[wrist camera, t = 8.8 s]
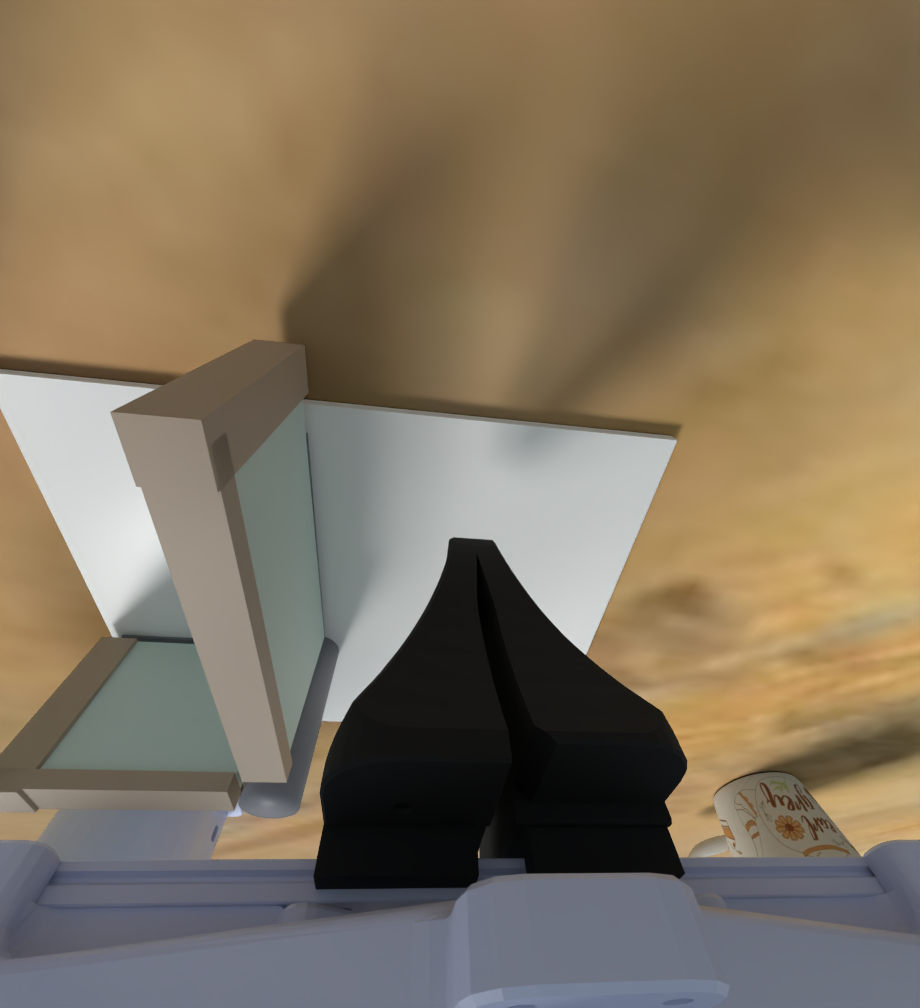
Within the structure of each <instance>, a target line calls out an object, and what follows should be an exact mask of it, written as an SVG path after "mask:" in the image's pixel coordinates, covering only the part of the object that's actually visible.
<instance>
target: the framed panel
mask: <svg viewBox="0 0 920 1008" xmlns="http://www.w3.org/2000/svg"><path fill="white" fill-rule="evenodd" d="M308 393H309V390H308V378H307V366H306V354H305V345H301V344H291V343H282V342H273V341H263V340H252V341H250V342H248V343H246V344H244V345H242V346H240V347H238V348H236V349H234V350H232V351H230V352H228V353H226V354H224V355H222V356H220V357H218V358H216V359H214V360H212V361H210V362H208V363H206V364H204V365H202V366H200V367H198V368H196V369H194V370H192V371H190V372H188V373H186V374H184V375H182V376H181V377H179V378H177V379H175V380H173V381H171V382H169V383H167V384H165V385H163V386H161V387H159V388H157V389H155V390H153V391H151V392H149V393H147V394H145V395H143V396H141V397H139V398H137V399H135V400H133V401H131V402H129V403H127V404H125V405H123V406H121V407H119V408H117V409H115V410H113V411H111V412H110V413H111V416H112V419H113V422H114V425H115V428H116V430H117V433H118V436H119V439H120V442H121V445H122V448H123V450H124V453H125V456H126V459H127V462H128V465H129V468H130V470H131V473H132V476H133V479H134V482H135V485H136V487H141V489H142V492H143V495H144V498H145V501H146V504H147V507H148V510H149V512H150V515H151V518H152V521H153V524H154V527H155V530H156V533H157V536H158V539H159V542H160V544H161V547H162V550H163V553H164V556H165V559H166V562H167V565H168V568H169V571H170V573H171V576H172V579H173V582H174V585H175V588H176V591H177V594H178V597H179V600H180V603H181V605H182V608H183V611H184V614H185V617H186V620H187V623H188V626H189V629H190V632H191V635H192V637H193V640H194V643H195V646H196V649H197V652H198V655H199V658H200V661H201V664H202V667H203V669H204V672H205V675H206V678H207V681H208V684H209V687H210V690H211V693H212V696H213V699H214V701H215V704H216V707H217V710H218V713H219V716H220V719H221V722H222V725H223V728H224V730H225V733H226V736H227V739H228V742H229V745H230V748H231V751H232V754H233V757H234V760H235V762H236V765H237V768H238V771H239V774H240V777H241V780H242V782H275V783H287V780H288V777H289V773H290V770H291V767H292V758H291V753H290V749H291V746H292V743H293V740H294V736H295V733H296V730H297V726H298V723H299V720H300V716H301V713H302V710H303V706H304V703H305V700H306V696H307V693H308V690H309V687H310V683H311V680H312V677H313V673H314V670H315V667H316V663H317V660H318V657H319V653H320V650H321V647H322V643H323V640H324V626H323V615H322V604H321V593H320V582H319V571H318V561H317V550H316V539H315V528H314V517H313V506H312V496H311V485H310V474H309V463H308V452H307V441H306V430H305V420H304V409H303V399H304V398H305V396H306V395H307V394H308Z"/></svg>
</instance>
